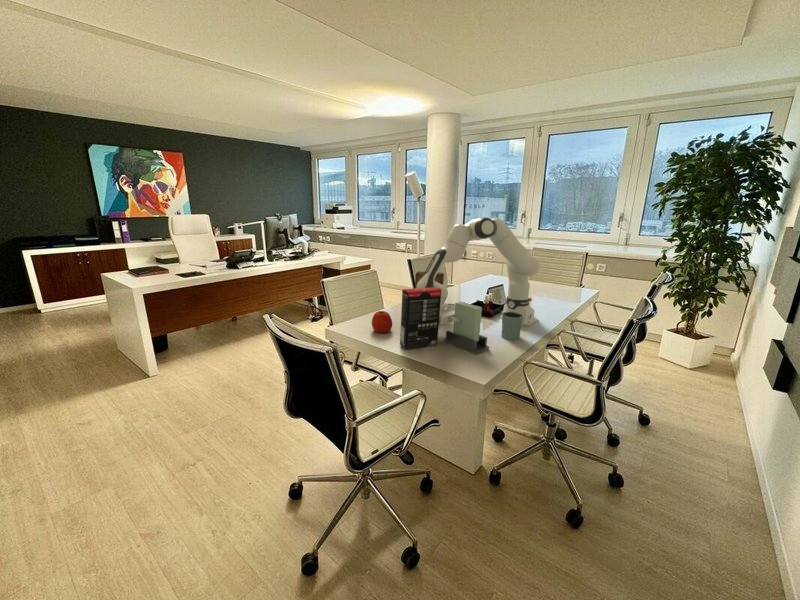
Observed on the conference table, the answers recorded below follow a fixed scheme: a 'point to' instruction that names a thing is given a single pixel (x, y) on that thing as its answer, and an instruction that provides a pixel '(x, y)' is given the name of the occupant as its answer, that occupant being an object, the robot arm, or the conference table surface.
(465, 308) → the green upright rectangular block
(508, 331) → the green embossed cup
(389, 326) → the apple
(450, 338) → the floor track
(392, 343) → the conference table surface
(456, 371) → the conference table surface
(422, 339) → the graphics card box
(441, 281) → the book
